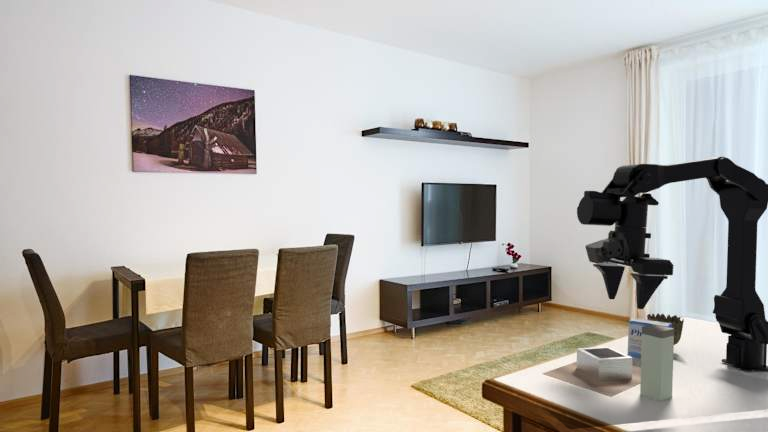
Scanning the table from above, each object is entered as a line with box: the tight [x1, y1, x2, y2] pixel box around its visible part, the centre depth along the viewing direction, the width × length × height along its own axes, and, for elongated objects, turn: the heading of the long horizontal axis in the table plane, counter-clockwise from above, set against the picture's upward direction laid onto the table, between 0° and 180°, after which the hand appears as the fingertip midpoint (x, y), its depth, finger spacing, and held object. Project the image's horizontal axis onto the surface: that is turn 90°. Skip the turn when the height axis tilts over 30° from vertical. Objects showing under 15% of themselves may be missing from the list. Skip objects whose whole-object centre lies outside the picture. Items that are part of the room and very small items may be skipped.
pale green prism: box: [639, 324, 675, 402], centre depth 87 cm, size 4×4×13 cm
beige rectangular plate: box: [542, 361, 641, 398], centre depth 98 cm, size 20×14×1 cm
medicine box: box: [627, 317, 672, 358], centre depth 109 cm, size 8×4×9 cm, turn 50°
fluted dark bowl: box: [646, 313, 685, 350], centre depth 116 cm, size 8×7×8 cm
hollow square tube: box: [576, 346, 633, 381], centre depth 98 cm, size 7×7×4 cm
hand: (625, 303), depth 101 cm, fingers open, 9 cm apart
